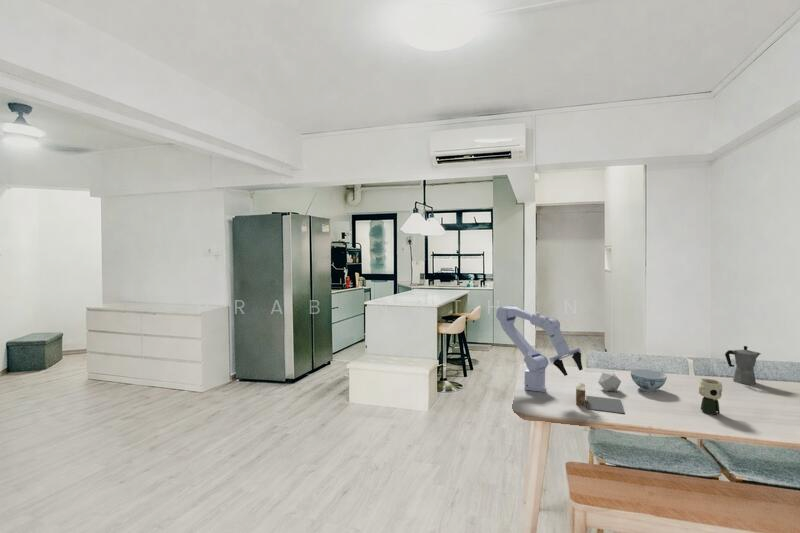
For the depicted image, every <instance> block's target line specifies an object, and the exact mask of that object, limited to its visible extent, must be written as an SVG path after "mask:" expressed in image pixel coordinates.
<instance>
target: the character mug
mask: <svg viewBox="0 0 800 533" xmlns="http://www.w3.org/2000/svg"><path fill="white" fill-rule="evenodd" d="M722 392H723V384H722V382H721V381H720V380H718V379H713V378H701V379H700V382H699V387H698V394H699V395H700V396H702V398H701V404H700V405H701V406H700V410H701V411H702V412H705V413H707V414H711V415H716V414H720V403H719V399H721V398H722V395H723V394H722Z"/></svg>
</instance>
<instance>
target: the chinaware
mask: <svg viewBox="0 0 800 533" xmlns="http://www.w3.org/2000/svg"><path fill="white" fill-rule="evenodd" d="M629 373H630V376H631V380H632V381H633V383H634V384H635V385H636V386H637V387H639V390H641V391H643V392H646V393H655V392H656V391H657V390H659V389H660V388H662V387H663V386H664V385H665V383H666V381H667V378H668V375H667V374H665V373H664V372H662V371H659V370H653V369H646V368H645V369H644V368H635V369H631V370H630V371H629Z"/></svg>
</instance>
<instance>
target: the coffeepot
mask: <svg viewBox="0 0 800 533" xmlns="http://www.w3.org/2000/svg"><path fill="white" fill-rule="evenodd" d="M730 355H734V359H735V365H736V367H735V365H734V364H732V360H731V357H730ZM760 355H761V353H760V352H757V351H753V350H749V349H748V346H747V345H744V346H743V349H734V350H733V349H732V350H731V349H729V350H727V351H726V352H725V353H724V356H725V359H726V361H727V362H726V363H727V364H728V367H730V368H731V367H732V368H733V367H735V370H734V374H733V377H732V381H734V383H738V384H741V385H749V386H750V385H751V386H754V385H756V384H757V381H756V380H757V379H756V374H755V370H754V369H755V368H754V367H755V365H756V361H757V358H758V357H759V356H760Z"/></svg>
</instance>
